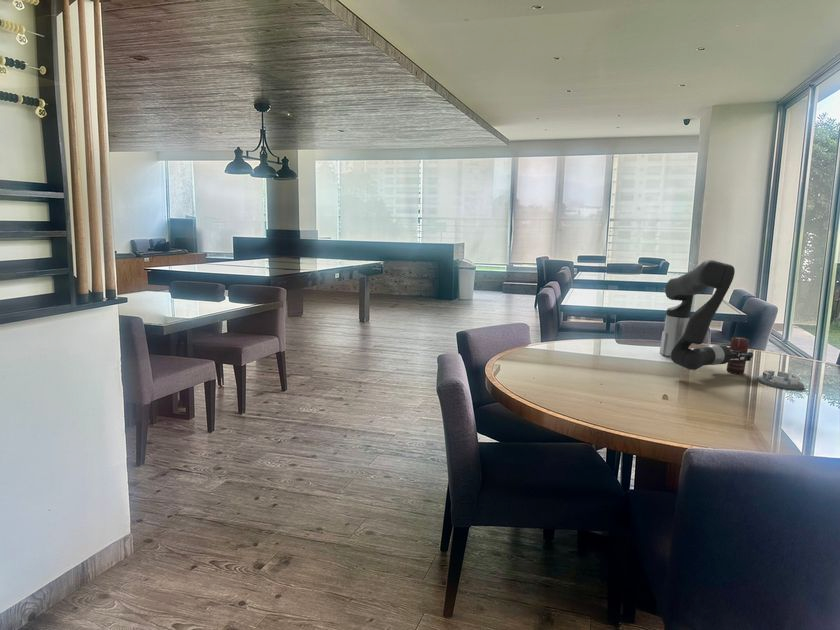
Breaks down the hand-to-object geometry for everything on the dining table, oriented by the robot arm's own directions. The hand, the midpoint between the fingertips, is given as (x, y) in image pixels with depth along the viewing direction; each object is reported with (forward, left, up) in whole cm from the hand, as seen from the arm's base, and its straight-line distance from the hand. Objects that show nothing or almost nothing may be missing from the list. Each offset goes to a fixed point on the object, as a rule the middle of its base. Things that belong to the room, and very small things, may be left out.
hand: (741, 352), depth 226 cm
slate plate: (+11, -12, -8) cm, 18 cm away
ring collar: (+11, -12, -8) cm, 18 cm away
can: (-1, -1, -8) cm, 8 cm away
